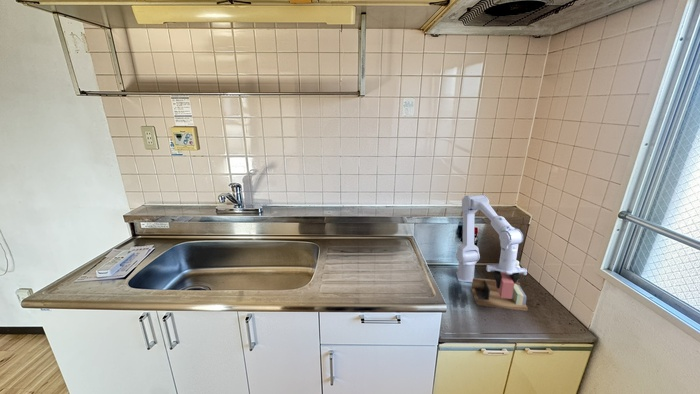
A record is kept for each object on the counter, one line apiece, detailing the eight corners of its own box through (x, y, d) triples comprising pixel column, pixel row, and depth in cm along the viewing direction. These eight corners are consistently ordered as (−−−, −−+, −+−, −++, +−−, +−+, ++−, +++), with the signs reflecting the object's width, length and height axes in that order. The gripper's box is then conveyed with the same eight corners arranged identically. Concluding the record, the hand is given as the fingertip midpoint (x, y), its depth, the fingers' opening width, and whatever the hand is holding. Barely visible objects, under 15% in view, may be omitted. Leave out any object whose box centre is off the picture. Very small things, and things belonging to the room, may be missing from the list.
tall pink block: (495, 285, 122) (497, 270, 120) (505, 286, 121) (507, 271, 119) (501, 297, 114) (503, 282, 112) (511, 298, 113) (514, 283, 111)
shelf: (471, 289, 134) (472, 277, 132) (517, 294, 130) (519, 282, 128) (476, 305, 123) (478, 292, 121) (527, 310, 118) (529, 298, 117)
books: (509, 292, 129) (510, 282, 128) (517, 293, 129) (519, 283, 127) (516, 304, 121) (517, 294, 120) (525, 305, 120) (527, 295, 119)
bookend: (474, 288, 132) (475, 279, 131) (484, 289, 132) (485, 280, 130) (478, 299, 125) (479, 289, 124) (488, 300, 124) (490, 290, 123)
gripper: (491, 261, 111) (487, 291, 115) (531, 264, 108) (526, 295, 112) (486, 253, 118) (483, 281, 121) (525, 256, 115) (520, 285, 118)
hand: (503, 287), depth 117 cm, fingers closed on tall pink block, 4 cm apart
